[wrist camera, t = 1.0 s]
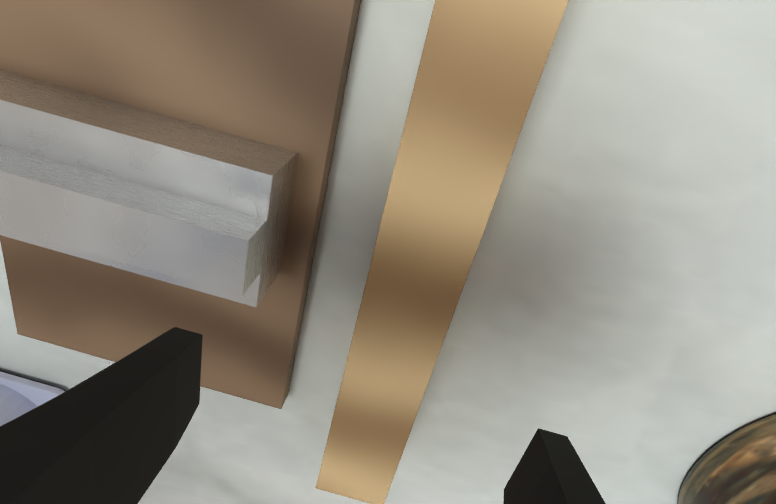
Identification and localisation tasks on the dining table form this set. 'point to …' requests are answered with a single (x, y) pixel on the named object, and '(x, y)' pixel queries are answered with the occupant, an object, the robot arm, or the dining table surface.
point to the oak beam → (433, 224)
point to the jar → (736, 469)
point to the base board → (203, 107)
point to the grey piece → (142, 190)
